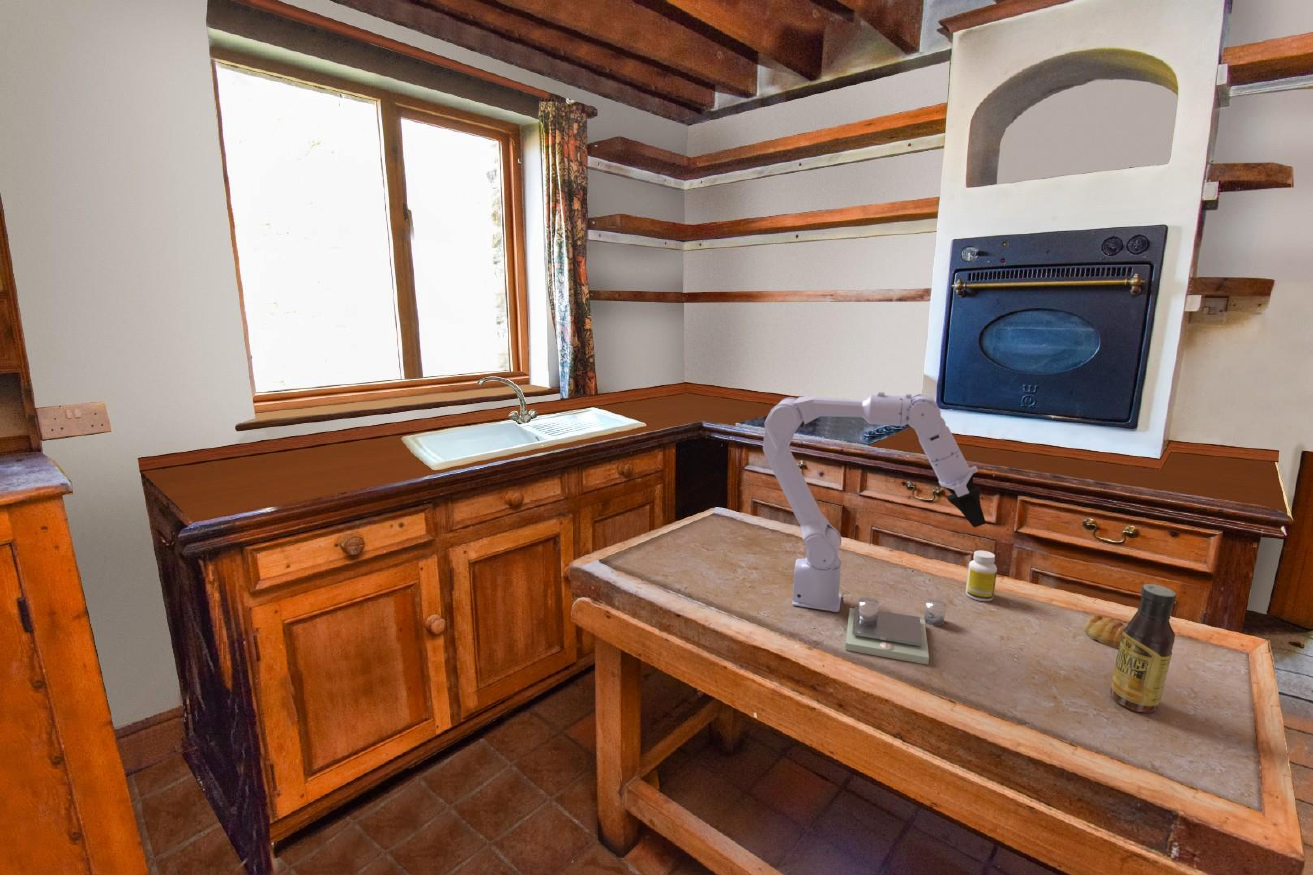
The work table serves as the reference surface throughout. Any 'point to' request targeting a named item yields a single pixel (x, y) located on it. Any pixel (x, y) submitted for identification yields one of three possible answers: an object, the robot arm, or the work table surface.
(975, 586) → the supplement bottle
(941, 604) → the cylinder
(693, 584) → the work table surface
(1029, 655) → the work table surface
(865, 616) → the cylinder
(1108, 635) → the pastry
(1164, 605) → the sauce bottle
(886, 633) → the scale platform
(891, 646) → the scale
